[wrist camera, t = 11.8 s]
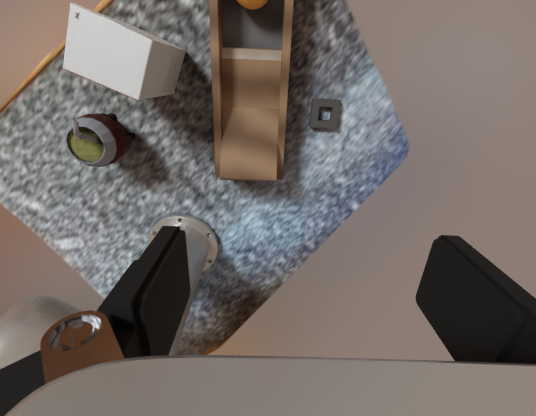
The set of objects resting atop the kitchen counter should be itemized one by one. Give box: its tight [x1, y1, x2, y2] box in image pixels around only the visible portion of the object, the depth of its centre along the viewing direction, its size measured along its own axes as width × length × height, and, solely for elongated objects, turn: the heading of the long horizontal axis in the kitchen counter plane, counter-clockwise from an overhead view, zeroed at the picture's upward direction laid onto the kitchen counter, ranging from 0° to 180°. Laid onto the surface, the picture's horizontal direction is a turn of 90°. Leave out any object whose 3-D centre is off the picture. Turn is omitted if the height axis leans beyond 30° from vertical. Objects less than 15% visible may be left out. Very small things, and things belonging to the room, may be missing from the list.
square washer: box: [310, 99, 341, 128], centre depth 43 cm, size 4×4×1 cm
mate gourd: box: [65, 113, 135, 167], centre depth 37 cm, size 8×8×15 cm
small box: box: [63, 3, 186, 101], centre depth 34 cm, size 8×6×13 cm
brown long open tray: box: [209, 0, 294, 182], centre depth 38 cm, size 28×10×7 cm, turn 178°
